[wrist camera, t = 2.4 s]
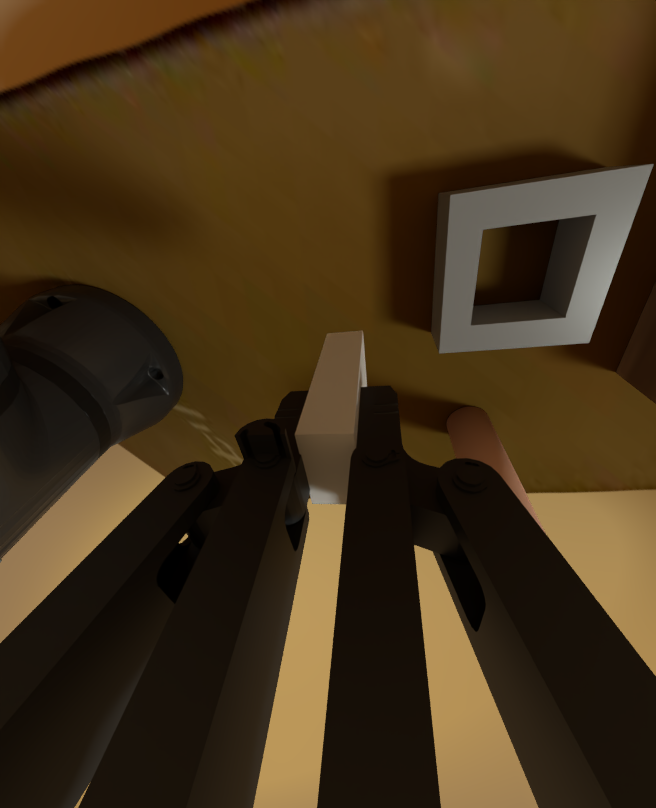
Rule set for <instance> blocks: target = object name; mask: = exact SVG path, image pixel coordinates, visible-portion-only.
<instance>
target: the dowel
mask: <svg viewBox="0 0 656 808" xmlns="http://www.w3.org/2000/svg"><path fill="white" fill-rule="evenodd" d="M446 424H447V429H448V433H449V436H450V439H451V443H452V446H453V449H454V453H455V456H456V458H470V459H474V460H479V461H481V462H483V463H485V464H487V465H489V466H491V467H492V468H493V469H494V470H496V471H497V472H498V473H499V474H500V475H501V477H502V478H503V479H504V481H505V482H506V483H507V484H508V486H509V487H510V488H511V490H512V491H513V492H514V494H515V495H516V496H517V497H518V499H519V500H520V501H521V503H522V504H523V505H524V507H525V508H526V509H527V510H528V512H529V513H530V514H531V516H532V517H533V518H534V519H535V521H536V522H537V523H538V525H539V526H540V527H541V529H542V530H543V531H544V529H543V527H542V525H541V523H540V521H539V519H538V517H537V515H536V513H535V511H534V509H533V507H532V505H531V503H530V501H529V499H528V496H527V494H526V492H525V490H524V488H523V486H522V484H521V482H520V480H519V478H518V476H517V474H516V472H515V470H514V468H513V466H512V464H511V462H510V460H509V458H508V456H507V454H506V452H505V450H504V448H503V446H502V443H501V441H500V439H499V437H498V435H497V433H496V431H495V429H494V427H493V425H492V423H491V421H490V419H489V417H488V415H487V413H486V412H485V411H484V410H482V409H481V408H478V407H472V406H469V407H463V408H460V409H458V410H456V411H454V412H453V413H452V414H451V415H450V416H449V417H448V419H447V423H446ZM544 532H545V531H544ZM545 534H546V533H545Z"/></svg>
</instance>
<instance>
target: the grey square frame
mask: <svg viewBox="0 0 656 808" xmlns="http://www.w3.org/2000/svg"><path fill="white" fill-rule="evenodd" d="M653 165H654V164H644V165H629V166H615V167H604V168H597V169H591V170H584V171H578V172H572V173H565V174H559V175H552V176H546V177H539V178H533V179H527V180H520V181H514V182H507V183H501V184H494V185H488V186H481V187H475V188H469V189H462V190H456V191H449V192H443V193H439V194H438V213H437V232H436V250H435V269H434V288H433V307H432V326H431V334H432V336H433V339H434V341H435V344H436V346H437V349H438V352H439V353H452V352H466V351H481V350H495V349H509V348H524V347H538V346H553V345H567V344H581V343H589V342H590V339H591V336H592V334H593V331H594V328H595V325H596V322H597V320H598V317H599V314H600V311H601V309H602V306H603V303H604V300H605V298H606V295H607V292H608V289H609V287H610V284H611V281H612V278H613V275H614V273H615V270H616V267H617V264H618V262H619V259H620V256H621V253H622V251H623V248H624V245H625V242H626V240H627V237H628V234H629V231H630V228H631V226H632V223H633V220H634V217H635V215H636V212H637V209H638V206H639V204H640V201H641V198H642V195H643V193H644V190H645V187H646V184H647V181H648V179H649V176H650V173H651V170H652V168H653ZM558 219H559V223H558V227H557V231H556V235H555V239H554V243H553V247H552V251H551V255H550V259H549V264H548V268H547V272H546V276H545V280H544V284H543V288H542V292H541V296H540V300H531V301H520V302H510V303H499V304H488V305H477V306H473V303H474V295H475V287H476V279H477V271H478V264H479V256H480V248H481V240H482V232H483V229H490V228H498V227H506V226H513V225H521V224H528V223H536V222H543V221H551V220H558Z"/></svg>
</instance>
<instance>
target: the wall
mask: <svg viewBox="0 0 656 808" xmlns="http://www.w3.org/2000/svg"><path fill="white" fill-rule="evenodd" d="M616 373H617V374H618V375H619V376H621V377H622V378H623V379H625V380H626V381H627V382H628V383H630V384H631V385H632V386H634V387H635V388H636V389H637V390H639V391H640V392H641V393H643V394H644V395H645V396H646V397H648V398H649V399H650V400H652V401H653V402H654V403H655V404H656V282H655V284H654V286H653V289H652V291H651V293H650V295H649V298H648V300H647V302H646V305H645V307H644V309H643V311H642V314H641V316H640V318H639V320H638V323H637V325H636V327H635V330H634V332H633V334H632V336H631V339H630V341H629V343H628V346H627V348H626V350H625V352H624V355H623V357H622V359H621V361H620V364H619V366H618V368H617V371H616Z"/></svg>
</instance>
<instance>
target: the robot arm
mask: <svg viewBox="0 0 656 808" xmlns="http://www.w3.org/2000/svg"><path fill="white" fill-rule="evenodd" d="M182 388H183V376H182V370H181V366H180V363H179V360H178V358H177V355H176V353H175V351H174V349H173V348H172V346H171V344H170V343H169V341H168V340H167V338H166V337H165V335H164V334H163V333H162V332H161V330H160V329H159V328H158V327H157V326H156V325H155V324H154V323H153V322H152V321H151V320H150V319H149V318H148V317H147V316H146V315H145V314H143V313H142V312H141V311H140V310H138V309H137V308H136V307H134V306H133V305H131V304H130V303H128V302H127V301H125V300H123V299H121V298H120V297H118V296H116V295H114V294H111V293H109V292H107V291H104V290H101V289H98V288H94V287H90V286H84V285H65V286H60V287H57V288H54V289H51V290H48V291H45V292H42V293H39V294H37V295H35V296H33V297H31V298H29V299H28V300H26V301H25V302H24V303H23V304H22V305H21V306H20V307H19V308H17V309H16V310H15V311H14V312H13V313H12V314H11V315H10V316H9V317H8V318H7V319H6V320H5V321H4V322H3V323H2V324H1V325H0V562H1V561H2V560H1V558H2V557H3V556H4V555H5V554H6V553H7V552H8V551H9V550H10V549H11V548H12V547H13V546H14V545H15V544H16V543H17V542H18V541H19V539H21V538H22V537H23V536H24V535H25V534H26V533H27V531H28V530H29V529H30V528H31V527H32V526H33V525H34V524H35V523H36V522H37V521H38V520H39V519H40V518H41V517H42V516H43V515H44V514H45V513H46V512H47V511H48V510H49V509H50V507H52V506H53V505H54V504H55V503H56V502H57V501H58V499H60V498H61V496H62V495H63V494H64V493H65V492H66V491H67V490H68V489H69V488H70V487H71V486H72V485H73V484H74V483H75V482H76V481H77V480H78V479H79V478H80V477H81V476H82V475H83V474H84V473H85V472H86V471H87V470H88V469H89V468H90V467H91V466H92V465H93V464H94V463H95V462H96V460H98V458H99V457H100V456H102V454H104V453H105V452H106V451H107V450H108V449H109V448H110V447H111V446H113V445H115V444H117V443H119V442H121V441H123V440H125V439H127V438H129V437H131V436H133V435H135V434H137V433H139V432H141V431H143V430H145V429H147V428H149V427H151V426H153V425H155V424H157V423H158V422H159V421H161V420H162V419H163V418H164V417H165V416H166V415H167V414H168V413H169V412H170V411H171V410H172V408H173V407H174V406H175V405H176V404H177V402H178V400H179V399H180V396H181V393H182ZM235 438H236V440H237V443H238V445H239V448H240V450H241V453H242V455H243V458H244V460H243V462H242V464H241V465H238V466H236V467H232V468H228V469H224V470H220V471H217V472H214V471H213V470H212V468H211V466H210V465H209V464H207V463H205V462H191V463H187V464H185V465H183V466H181V467H179V468H177V469H175V470H174V471H173V472H171V473H170V474H169V475H168V476H167V477H166V478H165V479H164V480H163V481H162V482H161V483H160V484H159V485H158V486H157V487H156V488H155V489H154V490H153V491H152V492H151V493H150V494H149V495H148V496H147V497H146V498H145V499H144V500H143V501H142V502H141V503H140V504H139V505H138V506H137V507H136V508H135V509H134V510H133V511H132V512H131V513H130V514H129V515H128V516H127V517H126V518H125V519H124V520H123V521H122V522H121V523H120V524H119V525H118V526H117V527H116V528H115V529H114V530H113V531H112V532H111V533H110V534H109V535H108V536H107V537H106V538H105V539H104V540H103V541H102V542H101V543H100V544H99V545H98V546H97V547H96V548H95V549H94V550H93V551H92V552H91V553H90V554H89V555H88V556H87V557H86V558H85V559H84V560H83V561H82V562H81V563H80V564H79V565H78V566H77V567H76V568H75V569H74V570H73V571H72V572H71V573H70V574H69V575H68V576H67V577H66V578H65V579H64V580H63V581H62V582H61V583H60V584H59V585H58V586H57V587H56V588H55V589H54V590H53V591H52V592H51V593H50V594H49V595H48V596H47V597H46V598H45V599H44V600H43V601H42V602H41V603H40V604H39V605H38V606H37V607H36V608H35V609H34V610H33V611H32V612H31V613H30V614H29V615H28V616H27V617H26V618H25V619H24V620H23V621H22V622H21V623H20V624H19V625H18V626H17V627H16V628H15V629H14V630H13V631H12V632H11V633H10V634H9V635H8V636H7V637H6V638H5V639H4V640H3V641H2V642H1V643H0V808H74V807H75V806H76V804H77V802H78V801H79V799H80V798H81V796H82V794H83V793H84V791H85V790H86V788H87V786H88V785H89V786H88V789H87V791H86V793H85V795H84V797H83V799H82V801H81V803H80V805H79V808H253V804H254V800H255V794H256V789H257V784H258V779H259V774H260V769H261V763H262V759H263V753H264V748H265V743H266V738H267V733H268V728H269V722H270V718H271V712H272V707H273V702H274V697H275V692H276V687H277V682H278V677H279V671H280V666H281V661H282V656H283V651H284V646H285V641H286V635H287V631H288V625H289V620H290V615H291V610H292V605H293V600H294V595H295V589H296V584H297V579H298V574H299V569H300V564H301V559H302V554H303V548H304V543H305V538H306V533H307V528H308V522H309V512H308V509H307V502H308V498H309V493H310V497H311V500H312V504H346V512H345V523H344V533H343V544H342V554H341V564H340V575H339V586H338V596H337V607H336V616H335V627H334V637H333V648H332V659H331V669H330V679H329V690H328V700H327V711H326V722H325V731H324V732H325V733H324V742H323V752H322V763H321V774H320V784H319V794H318V805H317V808H441V804H440V796H439V785H438V775H437V766H436V756H435V747H434V737H433V727H432V716H431V707H430V697H429V688H428V677H427V668H426V658H425V649H424V639H423V629H422V619H421V610H420V599H419V590H418V580H417V571H416V560H415V551H414V545H417V546H420V547H422V548H425V549H428V550H431V551H433V553H434V555H435V558H436V560H437V563H438V565H439V568H440V570H441V573H442V575H443V577H444V580H445V582H446V584H447V587H448V589H449V592H450V594H451V597H452V599H453V602H454V604H455V606H456V609H457V611H458V614H459V616H460V618H461V621H462V623H463V626H464V628H465V631H466V633H467V635H468V638H469V640H470V643H471V645H472V647H473V650H474V652H475V655H476V657H477V660H478V662H479V664H480V667H481V669H482V672H483V674H484V676H485V679H486V681H487V684H488V686H489V689H490V691H491V693H492V696H493V698H494V700H495V703H496V706H497V708H498V710H499V713H500V715H501V717H502V720H503V722H504V725H505V727H506V730H507V732H508V735H509V737H510V739H511V742H512V744H513V746H514V749H515V751H516V754H517V756H518V759H519V761H520V763H521V766H522V768H523V771H524V773H525V776H526V778H527V780H528V783H529V785H530V788H531V790H532V793H533V795H534V797H535V800H536V802H537V805H538V807H539V808H656V676H655V675H654V674H653V672H652V671H651V670H650V669H649V667H648V666H647V665H646V663H645V662H644V661H643V659H642V658H641V657H640V656H639V654H638V653H637V652H636V650H635V649H634V648H633V646H632V645H631V644H630V643H629V641H628V640H627V639H626V638H625V636H624V635H623V633H622V632H621V631H620V630H619V628H618V627H617V626H616V625H615V623H614V622H613V621H612V619H611V618H610V617H609V615H608V614H607V613H606V611H605V610H604V609H603V608H602V606H601V605H600V604H599V602H598V601H597V600H596V599H595V597H594V596H593V595H592V593H591V592H590V591H589V589H588V588H587V587H586V586H585V584H584V583H583V582H582V580H581V579H580V578H579V576H578V575H577V574H576V573H575V571H574V570H573V569H572V567H571V566H570V565H569V564H568V562H567V561H566V560H565V558H564V557H563V556H562V554H561V553H560V552H559V551H558V549H557V548H556V547H555V545H554V544H553V543H552V541H551V540H550V539H549V538H548V536H547V535H546V534H545V532H544V531H543V530H542V529H541V527H540V526H539V525H538V523H537V522H536V521H535V519H534V518H533V517H532V516H531V514H530V513H529V512H528V510H527V509H526V508H525V507H524V505H523V504H522V503H521V501H520V500H519V499H518V497H517V496H516V495H515V494H514V492H513V491H512V490H511V488H510V487H509V486H508V484H507V483H506V482H505V481H504V479H503V478H502V477H501V475H500V474H499V473H498V472H497V471H496V470H494V469H493V468H492V467H491V466H489V465H487V464H485V463H483V462H481V461H479V460H474V459H470V458H456V459H453V460H450V461H447V462H446V463H445V464H443V465H442V466H441V467H440V468H438V467H434V466H429V465H426V464H423V463H420V462H418V461H416V460H414V459H412V458H411V457H410V456H409V455H408V454H407V453H406V452H405V450H404V449H403V445H402V439H401V429H400V419H399V409H398V399H397V393H396V392H395V391H394V390H393V389H392V388H391V386H373V387H367V379H366V366H365V353H364V340H363V331H353V332H341V333H328V334H327V336H326V339H325V342H324V346H323V349H322V352H321V355H320V358H319V361H318V364H317V367H316V370H315V373H314V377H313V380H312V383H311V386H310V389H309V391H293V392H290V393H289V394H288V395H287V396H286V397H285V398H283V399H282V401H281V403H280V406H279V408H278V411H277V412H276V415H275V419H261V420H256V421H253V422H251V423H248V424H247V425H245V426H244V427H242V428H241V429H240V430H239V431H238V432H237V433H236V434H235ZM185 534H187V535H188V538H187V539H186V540H185V541H183V542H182V543H180V544H179V541H180V540H181V539H182V537H183V536H184V535H185ZM89 783H90V784H89Z"/></svg>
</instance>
